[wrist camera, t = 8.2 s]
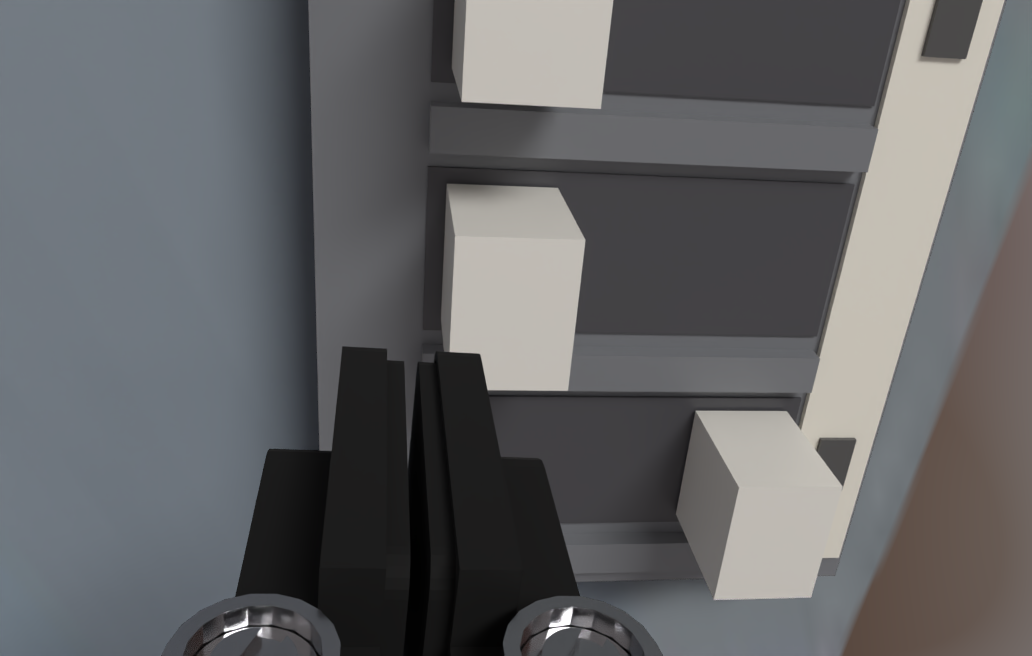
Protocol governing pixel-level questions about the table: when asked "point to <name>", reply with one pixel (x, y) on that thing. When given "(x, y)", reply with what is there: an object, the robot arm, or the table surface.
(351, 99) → the switch bank
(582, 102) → the tab
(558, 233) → the tab middle
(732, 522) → the tab
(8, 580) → the table surface
